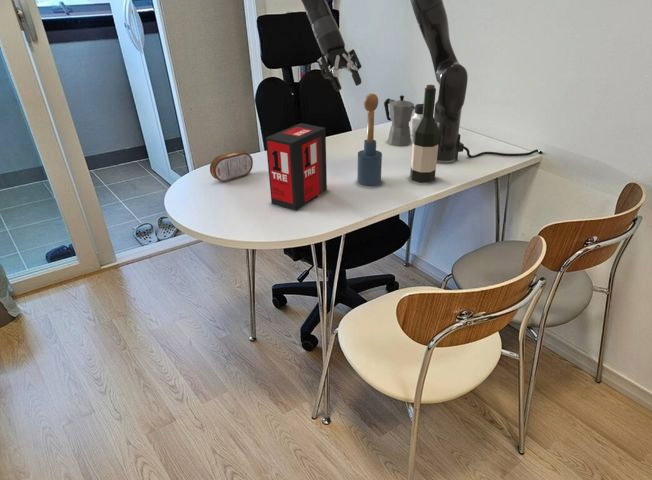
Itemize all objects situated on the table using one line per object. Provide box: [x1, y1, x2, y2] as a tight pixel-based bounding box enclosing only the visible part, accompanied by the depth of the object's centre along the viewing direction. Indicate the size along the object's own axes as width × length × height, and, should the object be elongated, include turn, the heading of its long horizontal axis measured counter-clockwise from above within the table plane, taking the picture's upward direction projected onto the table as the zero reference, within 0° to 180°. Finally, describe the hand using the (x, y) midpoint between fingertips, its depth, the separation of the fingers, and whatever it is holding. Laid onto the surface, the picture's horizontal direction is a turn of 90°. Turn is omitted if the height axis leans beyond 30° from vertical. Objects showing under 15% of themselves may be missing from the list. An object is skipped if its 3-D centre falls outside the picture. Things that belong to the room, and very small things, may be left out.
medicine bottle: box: [410, 102, 424, 137], centre depth 203 cm, size 7×7×12 cm
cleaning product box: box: [265, 122, 328, 211], centre depth 146 cm, size 16×9×20 cm, turn 150°
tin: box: [209, 149, 254, 182], centre depth 161 cm, size 15×3×8 cm, turn 135°
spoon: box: [363, 93, 379, 143], centre depth 154 cm, size 2×5×28 cm, turn 132°
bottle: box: [356, 139, 383, 187], centre depth 158 cm, size 8×8×14 cm
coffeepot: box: [383, 94, 416, 147], centre depth 192 cm, size 15×9×18 cm, turn 44°
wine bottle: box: [409, 84, 440, 184], centre depth 156 cm, size 8×8×30 cm
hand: (349, 87), depth 153 cm, fingers open, 8 cm apart
